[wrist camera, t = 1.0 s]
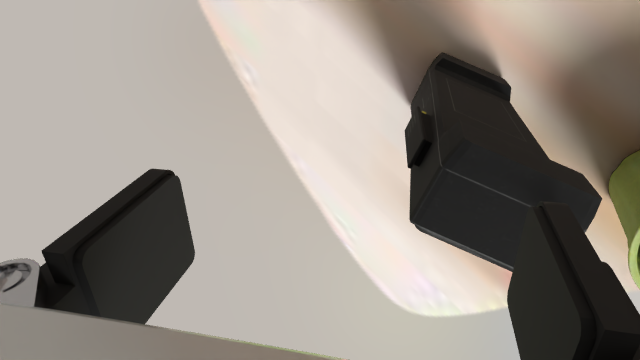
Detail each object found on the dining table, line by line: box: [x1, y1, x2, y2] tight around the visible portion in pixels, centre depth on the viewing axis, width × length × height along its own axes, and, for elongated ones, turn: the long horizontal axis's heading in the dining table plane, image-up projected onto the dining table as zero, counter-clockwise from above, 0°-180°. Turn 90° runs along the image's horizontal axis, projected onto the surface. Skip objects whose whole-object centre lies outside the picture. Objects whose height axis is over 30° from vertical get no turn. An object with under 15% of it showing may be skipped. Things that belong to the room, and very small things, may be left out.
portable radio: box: [405, 53, 602, 272], centre depth 27 cm, size 8×6×25 cm
